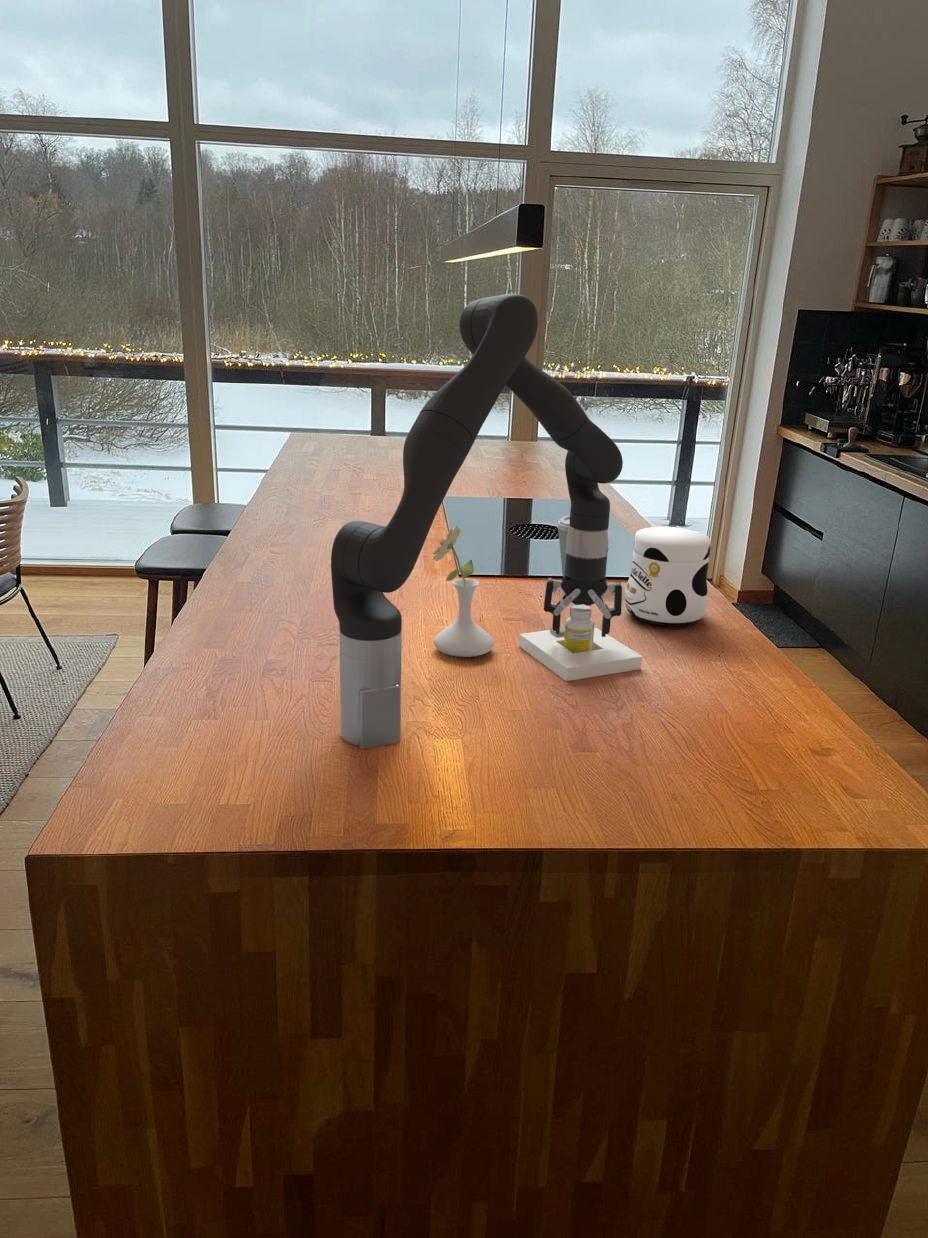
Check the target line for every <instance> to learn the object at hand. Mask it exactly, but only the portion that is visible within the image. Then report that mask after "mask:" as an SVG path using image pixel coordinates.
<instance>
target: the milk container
mask: <svg viewBox="0 0 928 1238" xmlns="http://www.w3.org/2000/svg"><path fill="white" fill-rule="evenodd" d="M710 553H711V539H710V537H709V536H708V535H706V534H704V533H703V532H701V531H700V532H699V531H696V530H694V529H687V528H682V527H673V526H653V527H645V528H641V529H638V531H636V532H635V536H634V541H633V551H632V560H631V562H632V563H631V564H632V565H631V572H630V575H629V578H628V581H627V583H626V586H625V591H624V603H625V604H624V605H625V608H626V610H627V612H628V613H629V614H630V615H632V616H633V617H634V618H636V619H637V620H641V621H642V622H646V623H650V624H653V625H661V626H668V627H669V626H677V627H678V626H686V625H691V624H694V623H696V622H699V621H700V620H702V618H703V617H704V616H705V613H706V611H707V609H708V605H709V590H708V582H707V577H708V570H709V569H708V568H709V563H710Z"/></svg>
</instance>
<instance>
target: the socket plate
mask: <svg viewBox="0 0 928 1238" xmlns="http://www.w3.org/2000/svg"><path fill="white" fill-rule="evenodd" d="M601 630H602V629H599V628H597V627H595V626H594V638H593V651H586V652H579V653H572V652H571V651H569V650H568V649H566V648H565V647H564V638H565V626H560V633H559V634H556V631H553V629H552V627H551V628H550V629H547V630H540V631H539V630H538V631H532V632H525V633H519V637H518V638H519V639H518V640H519V641H518V647H520V648H521V649H522V650H524V651H525V652H526V653H527V654H529V655H530V656H531V657H533V658H534V659H536V661H537V662H540V663H541V664H542V665H543V666H545V668H548V669H549V670H550V671H552V672H553V673H554V674H556V675H557V676H558V677H559V678H561V679H562V680H563V681H565V682H569V681H576V680H583V679H589V678H593V677H594V678H595V677H599V676H606V675H612V674H618V673H625V672H631V671H637V670H641V669H642V663H643V656H642V655H641V654H639V653H637V652H636V651H634V650H633V649H631V648H629V647H628V646H626V645H625V644H623V643H622V642H620V641H618V640H617V639H615V638H613V637H612V636H610V635H609V634H606V636H605V637H602V636H601Z"/></svg>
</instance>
